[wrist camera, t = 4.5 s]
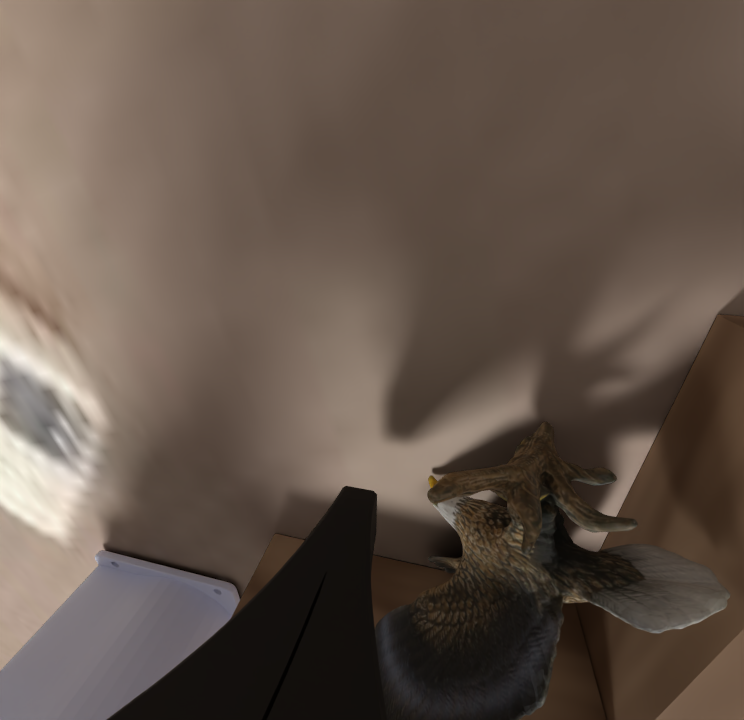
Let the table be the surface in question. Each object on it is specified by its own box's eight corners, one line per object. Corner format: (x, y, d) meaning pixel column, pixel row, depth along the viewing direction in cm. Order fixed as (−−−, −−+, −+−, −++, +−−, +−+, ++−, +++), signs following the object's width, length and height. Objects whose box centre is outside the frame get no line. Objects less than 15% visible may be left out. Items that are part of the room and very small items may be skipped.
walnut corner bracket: (283, 576, 19) (236, 682, 15) (225, 280, 11) (98, 335, 7) (589, 651, 16) (632, 808, 12) (792, 319, 8) (1091, 448, 4)
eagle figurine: (358, 396, 10) (325, 608, 13) (568, 666, 4) (419, 944, 7) (541, 387, 13) (481, 560, 16) (811, 533, 7) (638, 765, 10)
